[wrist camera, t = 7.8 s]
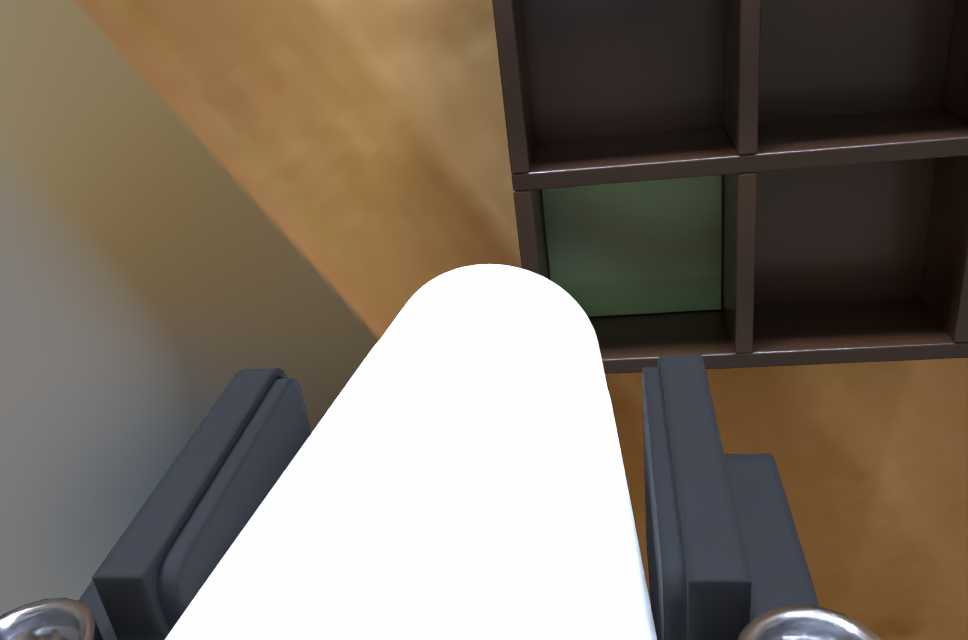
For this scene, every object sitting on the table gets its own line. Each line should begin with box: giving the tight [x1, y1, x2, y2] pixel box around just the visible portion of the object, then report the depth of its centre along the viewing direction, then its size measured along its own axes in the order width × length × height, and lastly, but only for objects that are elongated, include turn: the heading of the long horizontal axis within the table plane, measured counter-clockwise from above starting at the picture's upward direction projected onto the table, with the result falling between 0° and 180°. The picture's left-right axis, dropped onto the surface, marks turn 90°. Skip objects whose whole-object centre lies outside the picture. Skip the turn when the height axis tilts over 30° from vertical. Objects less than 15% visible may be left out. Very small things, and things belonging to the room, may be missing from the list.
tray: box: [492, 0, 968, 374], centre depth 27 cm, size 22×15×4 cm
